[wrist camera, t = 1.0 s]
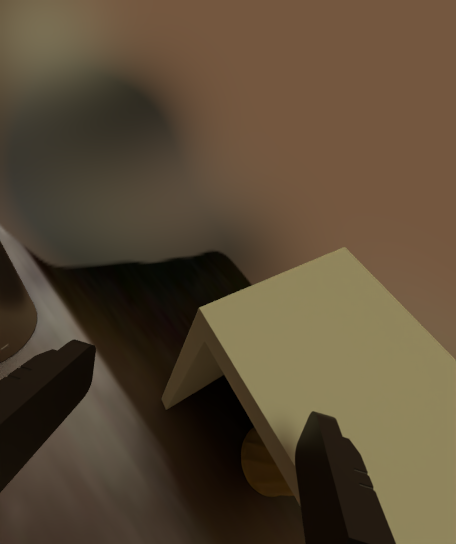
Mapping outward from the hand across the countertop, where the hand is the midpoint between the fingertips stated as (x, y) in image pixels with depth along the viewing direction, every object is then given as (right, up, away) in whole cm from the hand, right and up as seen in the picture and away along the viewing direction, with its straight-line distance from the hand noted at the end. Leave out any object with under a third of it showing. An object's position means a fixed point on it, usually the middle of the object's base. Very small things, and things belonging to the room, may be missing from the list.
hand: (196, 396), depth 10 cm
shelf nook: (+3, -12, +19) cm, 23 cm away
